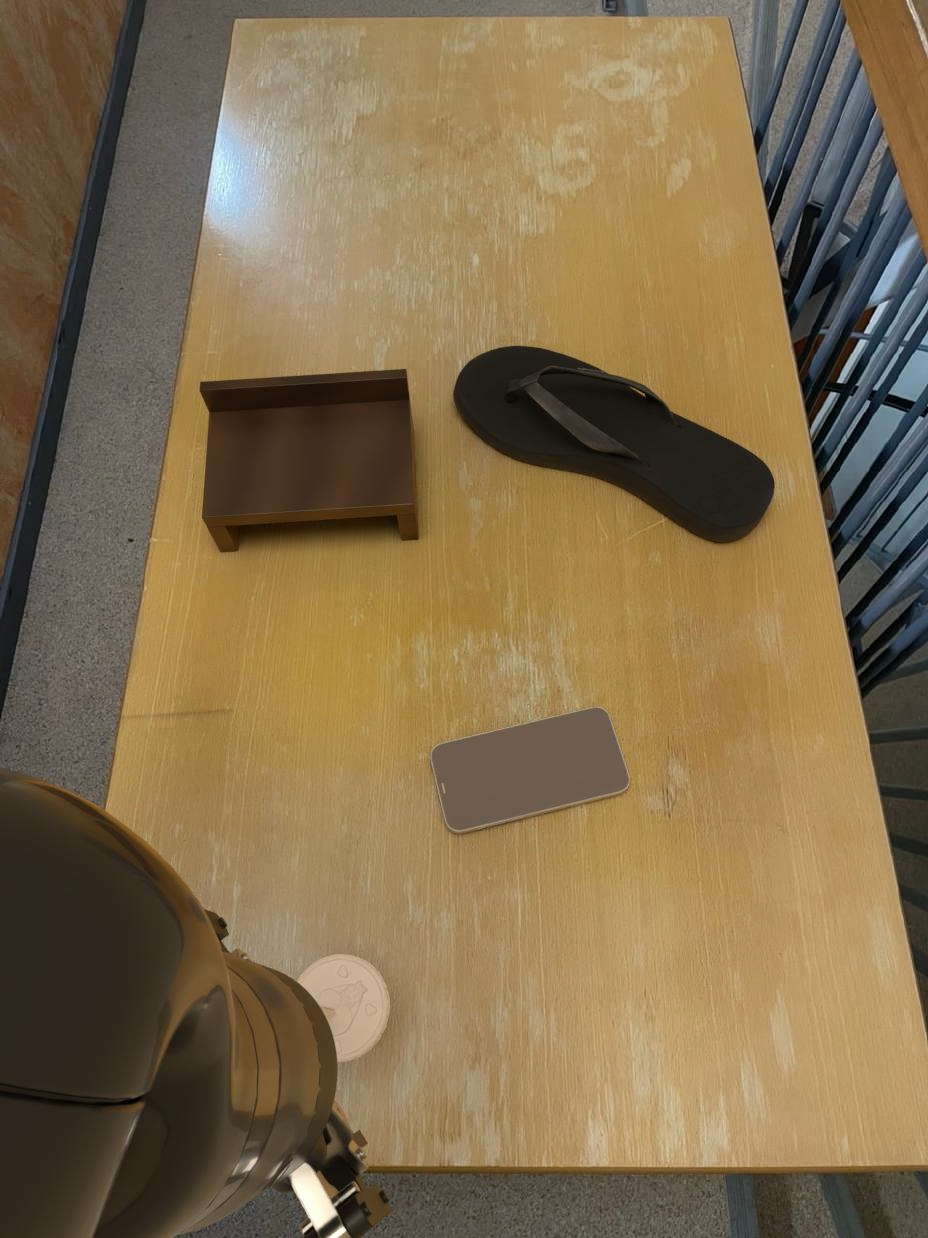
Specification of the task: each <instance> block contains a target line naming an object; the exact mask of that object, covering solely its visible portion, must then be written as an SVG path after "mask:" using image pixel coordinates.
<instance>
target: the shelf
mask: <svg viewBox="0 0 928 1238" xmlns="http://www.w3.org/2000/svg"><path fill="white" fill-rule="evenodd" d="M407 369H408V368H396V369H381V370H379V369H378V370H366V371H363V370H362V371H348V372H335V373H333V372H332V373H317V374H316V373H315V374H303V375H302V374H301V375H287V376H270V377H255V378H253V377H252V378H240V379H222V380H221V379H220V380H207V381H199V392H200V395H201V397H202V400H203V402H204V404H205V406H206V409H207V411H208V422H207V423H208V425H207V438H206V452H205V464H204V465H205V467H204V481H203V494H202V495H203V496H202V509H201V510H202V511H201V519H202V521H203V523H204V525H205V526H206V529H207V530H208V532H209V534H210V536H211V537H212V540H213V541H214V543H215V545H216V547H217V549H218V551H219V552H220V553H226V552H228V553H230V552H238V551H239V535H240V534H239V533H240V532H239V531H240V526H247V525H262V524H263V525H264V524H275V523H277V524H278V523H279V524H280V523H293V522H309V521H322V520H323V521H324V520H325V521H326V520H339V519H341V520H342V519H356V518H357V519H358V518H369V517H370V518H372V517H387V516H396V518H397V523H398V530H399V536H400V540H401V541H413V540H414V541H415V540H419V539H420V536H419V535H420V534H419V514H418V491H417V490H418V489H417V469H416V446H415V429H414V419H413V413H412V403H411V395H410V388H409V378H408V371H407Z"/></svg>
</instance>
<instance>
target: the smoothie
mask: <svg viewBox="0 0 928 1238" xmlns="http://www.w3.org/2000/svg"><path fill="white" fill-rule="evenodd" d="M296 982H298V983H299V984H300V985H301V986H303V987H304V988H305V989H306V990H307V991H308V992H309V993H310V994H311V995H312V997H313V998H314V999H315V1000H316V1002H317V1003H318V1005H319V1006H320V1008H321V1009H322V1011H323V1013H324V1015H325V1017H326V1019H327V1021H328V1023H329V1026H330V1028H331V1031H332V1034H333V1038H334V1042H335V1047H336V1053H337V1063H347V1062H351V1061H353V1060H356V1059H359V1058H360V1057H362V1056H364V1055H365V1054H366V1053H368V1052H370V1051H371V1050H372V1049H373V1048H374V1047H375V1046H376V1044H377V1043H378V1042H379V1041H380V1040H381V1038H382V1036H383V1034H384V1032H385V1030H386V1028H387V1025H388V1021H389V1018H390V1014H391V998H390V994H389V989H388V985H387V983H386V981H385V979H384V978H383V976H382V975H381V973H380V971H379V970H378V969H377V968H376V967H375V966H374V965H373V964H372V963H370V962H369V961H367V960H365V959H364V958H362V957H360V956H356V955H353V954H348V953H345V954H344V953H338V954H337V953H336V954H331V955H327V956H324V957H322V958H319V959H317V960H316V961H314V962H313V963H311V964H310V965H309V966H308V967H307V968H305V969H304V971H303V972H301V974H300V976H298V978H297V980H296Z"/></svg>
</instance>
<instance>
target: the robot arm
mask: <svg viewBox="0 0 928 1238" xmlns="http://www.w3.org/2000/svg"><path fill="white" fill-rule="evenodd" d="M227 927H228V924H227V921H226V920H225V919H224V917H222V916H221V917H220V916H219V915H218V914H217V912H215V911H212V910H208V909H205V908H204V907H203V905H202V904H201V902H200V900H199V899H198V898H197V896H196V895H195V893H194V892H193V891H192V889H191V888H190V886H189V885H188V884H187V883H186V881H184V879H183V878H182V876H180V874H179V873H178V872H177V870H175V868H174V867H173V866H172V865H171V864H170V863H169V862H168V861H167V859H165V858H164V856H162V855H161V854H160V853H159V852H158V851H157V850H156V849H155V848H154V847H153V846H152V845H151V844H150V843H149V842H148V841H147V840H145V839H144V838H143V837H141V836H140V835H139V834H138V833H136V832H135V831H133V830H132V829H131V828H130V827H128V826H127V825H125V824H124V822H122V821H120V820H119V819H118V818H116V817H115V816H113V815H112V814H111V813H109V812H108V811H106V810H104V809H103V808H101V807H100V806H98V805H96V804H95V803H93V802H92V801H90V800H88V799H86V798H84V797H82V796H80V795H79V794H77V793H75V792H73V791H70V790H69V789H66V788H64V787H62V786H59V785H57V784H55V783H52V782H49V781H47V780H45V779H42V778H38V777H35V776H32V775H29V774H25V773H21V772H19V771H16V770H12V769H8V768H5V767H0V1238H175V1237H176V1236H180V1235H184V1234H188V1233H192V1232H196V1231H198V1230H201V1229H204V1228H205V1227H208V1226H210V1225H211V1226H212V1225H213V1224H215V1223H217V1222H219V1221H221V1220H223V1219H224V1218H226V1217H228V1216H230V1215H232V1214H233V1213H235V1212H236V1211H238V1210H239V1209H241V1208H242V1207H244V1206H245V1205H246V1204H248V1203H250V1202H251V1201H253V1200H254V1199H257V1198H258V1197H259V1196H261V1195H262V1194H263V1193H265V1192H267V1191H268V1190H271V1189H274V1190H275V1191H277V1192H279V1193H283V1194H289V1193H293V1192H294V1193H295V1194H296V1196H297V1198H298V1200H299V1202H300V1204H301V1206H302V1207H303V1209H304V1211H305V1213H306V1215H307V1218H305V1219H304V1220H303V1221H302V1222H301V1223H299V1225H298V1230H299V1231H300V1234H301V1235H302V1236H303V1237H302V1238H363V1237H364V1236H365V1235H367V1233H368V1232H370V1231H371V1230H372V1229H373V1228H375V1227H376V1226H377V1225H378V1224H379V1223H380V1222H382V1221H383V1220H384V1219H386V1217H388V1215H390V1214H391V1213H392V1212H393V1209H392V1207H391V1205H390V1203H389V1202H391V1201H390V1198H389V1195H388V1193H387V1192H386V1190H385V1189H384V1188H382V1189H381V1187H380V1186H379V1185H378V1183H375V1182H374V1183H373V1184H371V1185H369V1186H368V1187H367V1186H366V1184H365V1182H364V1180H363V1176H362V1174H363V1173H364V1172H366V1171H367V1170H368V1169H369V1168H370V1166H369V1163H368V1160H367V1158H368V1155H367V1153H366V1151H365V1149H364V1147H365V1146H367V1145H368V1141H367V1139H366V1138H365V1136H364V1134H363V1133H362V1131H361V1129H358V1130H357V1131H355V1132H354V1131H353V1129H352V1127H351V1125H350V1123H349V1120H348V1118H347V1115H346V1114H345V1112H344V1109H343V1107H341V1106H340V1104H339V1103H338V1102H337V1101H336V1100H335V1098H336V1092H337V1087H338V1070H339V1069H338V1062H337V1053H336V1047H335V1042H334V1038H333V1034H332V1031H331V1028H330V1026H329V1023H328V1021H327V1019H326V1017H325V1015H324V1013H323V1011H322V1009H321V1008H320V1006H319V1005H318V1003H317V1002H316V1000H315V999H314V998H313V997H312V995H311V994H310V993H309V992H308V991H307V990H306V989H305V988H304V987H303V986H301V985H300V984H299V983H298V982H297V980H295V979H294V978H292V977H291V976H289V975H287V974H286V973H284V972H282V971H280V970H278V969H275V968H271V967H269V966H266V965H263V964H260V963H258V962H256V961H255V962H254V961H252V960H251V958H250V956H249V955H248V953H247V952H246V951H244V952H243V950H242V949H241V948H240V947H236V948H235V949H234V950H233V951H230V950H228V948H227V947H226V945H225V944H224V942H223V941H222V940H224V939H225V938H227V937H228V936H229V935H230V933H229V929H228V928H227Z"/></svg>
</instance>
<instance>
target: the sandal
mask: <svg viewBox="0 0 928 1238" xmlns="http://www.w3.org/2000/svg"><path fill="white" fill-rule="evenodd" d="M643 394H644V395H643ZM452 397H453V402H454V405H455V407H456V409H457V411H458V412H459V414H460V416H461V417H462V418H463V419H464V421H465V423H467V425H469V426H470V428H472V430H473V431H474V432H475V433H476V434H477V435H478V436H479V437H480V438H481V439H482V440H483V441H485V442H486V443H487V444H488V445H490V446H491V447H492V448H493V449H496V450H497V451H499V452H501V453H502V454H505V455H506V456H508V457H510V458H512V459H515V460H517V461H521V462H523V463H528V464H532V465H535V466H542V467H546V468H552V469H558V470H563V471H569V472H573V473H578V474H583V475H586V476H590V477H594V478H597V479H600V480H603V481H606V482H609V483H611V484H613V485H616V486H617V487H620V488H622V489H623V490H626V491H627V492H630V493H632V494H634V495H635V496H637V497H638V498H640V499H642V501H645V502H646V503H648V504H649V505H651V506H652V507H654V508H655V509H656V510H658V511H660V512H661V513H662V514H664V515H665V516H667V517H668V518H670V519H671V520H673V521H674V522H676V523H677V524H679V525H680V526H682V527H684V528H686V530H688V531H690V532H692V533H693V534H695V535H697V536H699V537H701V538H703V539H706V540H708V541H712V542H715V543H727V542H728V543H729V542H734V541H737V540H740V539H742V538H743V537H745V536H747V535H748V534H750V533H751V532H752V531H753V530H754V529H755V528H756V527H758V525H759V524H760V522H761V521H762V519H763V517H764V516H765V513H766V512H767V510H768V509H769V506H770V504H771V502H772V500H773V498H774V494H775V488H776V485H775V478H774V475H773V473H772V471H771V469H770V468H769V466H768V465H767V463H765V461H764V460H762V459H761V458H760V457H759V456H757V454H755V453H754V452H752V451H750V450H749V449H747V448H746V447H744V446H742V445H741V444H739V443H737V442H735V441H733V440H731V439H729V438H727V437H725V436H723V435H722V434H720V433H718V432H715V431H713V430H711V429H710V428H707V427H705V426H703V425H701V424H698V423H697V422H694V421H693V420H690V419H687V418H685V417H683V416H682V415H680V414H677V413H675V412H673V411H671V409H670V408H669V406H668V404H667V403H666V402H665V401H664V400H663V399H661V398H660V397H659V395H657V394H656V393H655V392H654V391H653V390H652V389H650V387H648V386H647V385H645V384H643V383H641V382H638V381H635V380H633V379H629V378H627V377H623V376H620V375H616V374H611V373H608V372H606V371H604V370H603V369H601V368H599V367H597V366H595V365H593V364H590V363H588V362H586V361H583V360H580V359H578V358H575V357H572V356H570V355H566V354H565V353H562V352H557V351H554V350H550V349H547V348H543V347H536V346H529V345H509V346H508V345H507V346H501V347H497V348H494V349H491V350H487V351H485V352H483V353H480V354H478V355H476V356H475V357H473V358H471V360H469V361H468V362H467V363H466V364H465V365H464V366H463V368H462V369H461V370H460V371H459V373H458V376H457V378H456V381H455V383H454V387H453V392H452Z"/></svg>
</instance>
